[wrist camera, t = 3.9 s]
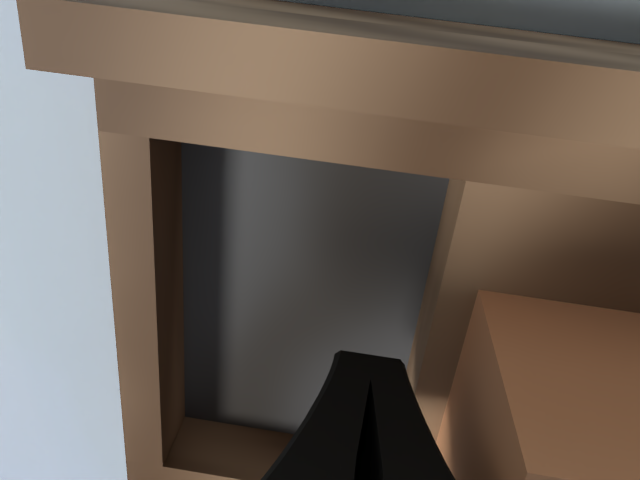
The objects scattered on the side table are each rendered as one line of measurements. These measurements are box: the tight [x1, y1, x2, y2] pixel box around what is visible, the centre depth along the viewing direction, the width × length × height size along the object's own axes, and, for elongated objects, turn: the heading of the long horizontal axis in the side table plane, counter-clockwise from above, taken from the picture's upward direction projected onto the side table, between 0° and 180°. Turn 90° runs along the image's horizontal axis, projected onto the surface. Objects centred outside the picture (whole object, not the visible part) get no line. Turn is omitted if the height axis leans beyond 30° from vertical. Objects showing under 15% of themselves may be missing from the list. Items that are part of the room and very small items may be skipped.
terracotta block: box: [436, 290, 640, 480], centre depth 10 cm, size 4×4×4 cm
